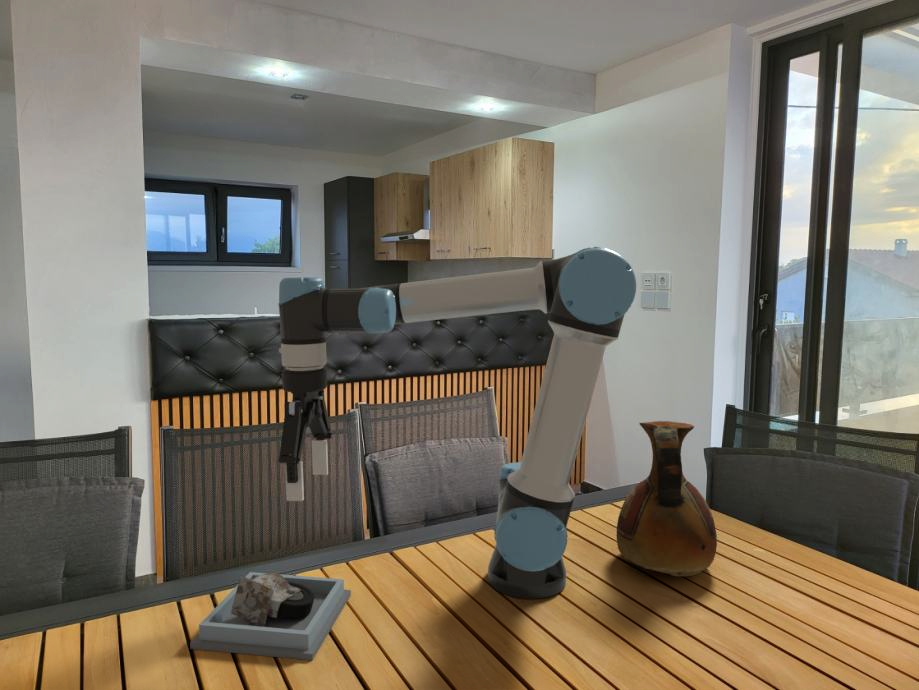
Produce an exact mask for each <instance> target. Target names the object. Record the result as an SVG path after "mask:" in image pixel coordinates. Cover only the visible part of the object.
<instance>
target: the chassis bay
mask: <svg viewBox="0 0 919 690" xmlns="http://www.w3.org/2000/svg"><path fill="white" fill-rule="evenodd" d="M263 574H267V573H266V572H254V571H250V572H248V574H246V575H245V577H246V578H248V579H250V580H252V579H254V578H256V577H258V576H260V575H263ZM278 574H279V575H281V576H283V577H284V578H285V579H286V580H287V582H293V583H297V584H300V585H303V586H305V587H307V588H308V589H310V590H311V591H312V592H313V594H314V602H313V606H312V609H311V612H310V614H308V615H307V616H306V617H303V618H299V619H286V618H281V617H278V618H274V617H270V616H268V615H267V618H266V622H265V626H264V627H259V626H257V625H255V624H252V623H250V622H248V621H246V620H244V619H242V618H240V617H238V616H236V615H234V614H232V613H231V610H232V606H233V602H234V598H235V595H236V591H237V587H238V584H237V585H236V586H235V587H234V588H233V589H232V590H231V591H230V592H229V593H228V594H227V595H226V596H225V597H224V598H223V599H222V600H221V601H220V603H218V605H217V606H216V607H215V608H214V609H213V610H212V611H211V612H209V614H208V615H207V616H206V617H205V618H204V619H203V620H202V621H201V622H200V623H199V624H198V634H197V635H196V636H195V637H194V638H193V639H192V640H191V641H190V643H189V647H190V650H199V651H210V652H211V651H212V652H222V653H231V654H241V655H242V654H243V655H253V656H263V657H275V658H285V659H286V658H287V659H295V660H306V661H314V659H315V657H316V655H317V653H318V652H319V650H320V649H321V647H322V645H323V644H324V642H325V640H326V639H327V637H328V635H329V633H330V632H331V630H332V629H333V626H334V625H335V623H336V621H337V619H338V618H339V616H340V615H341V613H342V611H343V609H344V608H345V606H346V604H347V602H348V600H350V597H352V590H351V589H345V579H343V578H332V577H319V576H306V575H293V574H292V575H291V574H280V573H278Z"/></svg>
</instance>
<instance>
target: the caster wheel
mask: <svg viewBox="0 0 919 690" xmlns="http://www.w3.org/2000/svg"><path fill="white" fill-rule="evenodd" d="M279 574H280V573H276V572H275V573H274V572H268V573H267V574H263V575H260V576H258V577H256V578H254V579H252V580H250V579H248V578H246V576H243V575H240V576H239V580H238V582H237V583H238V584H237V585H238V587H237V591H236V595H235V598H234V602H233V606H232V610H231V613H232V614H234V615H236V616H238V617H240V618H242V619H244V620H246V621H248V622H250V623H252V624H255V625H257V626H259V627H264V626H265V622H266V618H267V615H268V616H270V617H274V618H278V617H281V618H286V619H299V618H303V617H306V616H307V615H308V614H310V612H311V609H312V606H313V602H314V594H313V592H312V591H311V590H310V589H308V588H307V587H305V586H303V585H300V584H297V583H293V582H287V580H286V579H285V578H284V577H283V576H281V575H282V574H281V575H279Z"/></svg>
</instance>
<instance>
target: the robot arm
mask: <svg viewBox="0 0 919 690" xmlns="http://www.w3.org/2000/svg"><path fill="white" fill-rule="evenodd" d="M636 279H637V278H636V276H635V272H634V270H633V268H632V266H631V265H630V263H629V262H628V260H627V259H625V257H624V256H623V255H621V254H620V253H618V252H616V251H614V250H611V249H609V248H607V247H598V246H591V247H586V248H583V249H580V250H578V251H576V252H574V253H572V254H569V255H567V256H563V257H559V258H554V259H549V260H540V261H539V262H538V263H537V264H536V266H534V267H528V268H521V269H512V270H505V271H503V270H502V271H495V272H487V273H479V274H470V275H461V276H453V277H445V278H444V277H443V278H435V279H428V280H420V281H411V282H410V281H409V282H404V283H403V282H402V283H393V284H386V285H384V284H383V285H382V284H381V285H373V286H370V287H369V286H368V287H360V288H359V287H358V288H329V287H328V288H327V287H326V286H325V281H324V279H323V278H322V277H319V276H317V277H316V276H315V277H309V276H302V277H301V276H299V277H294V276H293V277H283V279H281V281H280V282H279V285H278V286H279V287H278V288H279V290H278V304H277V305H278V306H277V307H278V313H279V326H280V328H279V329H280V330H279V331H280V347H279V349H278V353H279V354H281V366H282V367H284V368H283V369H282V371H281V382H282V384H281V385H282V386H281V387H282V390H283V391H285V392H287V393H290V394H292V397H291V398H292V399H291V401H285V402H284V418H283V426H282V432H281V433H282V434H281V442H280V448H279V457H278V463H279V464H284V468H285V469H284V471H285V494H286V502H303V501H304V500H305V496H304V495H305V493H304V491H305V488H304V468H303V467H304V464H303V460H301V458H302V453H303V448H304V444H305V438H306V433H307V429H308V427H309V430H310V432H311V435H312V437H313V439H312V440H311V459H312V460H311V461H312V463H311V464H312V475H314V476H315V475H316V476H317V475H318V476H328V474H329V460H328V459H329V457H328V440H329V439H331V440H332V437H333V435H332V434H333V433H332V432H331V431H332V429H331V424H330V418H329V414H328V409H327V404H326V400H325V389H327V387H328V376H327V375H328V374H327V373H328V371H327V370H328V369H327V368H326V367H325V366H326V364H327V363H328V361H327V342H326V339H327V338H326V333H328V334H334V333H341V334H342V333H350V334H352V333H353V334H356V333H357V334H358V333H359V334H370V335H374V334H380V333H382V334H383V333H389V332H391V331H392V330H393V329H394V327H395V325H400V324H401V325H402V324H408V323H409V324H410V323H418V322H426V321H427V322H428V321H429V322H430V321H436V320H447V319H455V318H465V317H473V316H483V315H485V316H486V315H493V314H503V313H511V312H520V311H531V310H539V311H542V312H543V313H544V314H549V315H548V320H547V323H548V325H549V326H550V328H551V330H552V331H553V338H552V341H551V345H550V350H549V354H548V355H547V356H548V357H547V360H546V365H545V368H544V372H543V377H542V381H541V383H540V388H539V392H538V396H537V399H536V403H535V407H534V411H533V415H532V417H531V423H530V426H529V431H528V433H527V438H526V441H525V446H524V449H523V453H522V455H521V456H522V457H521V461H518V462H509V463H506V464H503V465H502V466H501V467H500V468H499V476H498V478H497V480H498V500H497V501H498V502H497V511H496V512H497V513H496V522H495V527H494V531H493V532H494V533H493V535H494V540H495V544H496V545H495V547H494V550H493V552H492V554H491V558H490V560H489V563H488V567H487V580H488V582H489V585H491V587H492V588H494V589H495V590H497V591H498V592H500V593H501V594H505V595H507V596H510V597H513V598H519V599H527V600H529V599H530V600H533V599H534V600H537V599H544V598H549V597H553V596H555V595H557V594H559V593H560V592H562V591H563V590H564V589H565V587H566V583H567V570H566V569H567V568H566V566H565V563H564V559H563V556H564V555H565V551H566V548H567V545H568V536H569V535H568V532H567V531H568V530H567V526H568V522H569V519H570V515H571V511H572V507H573V503H574V500H575V497H576V494H575V491H574V490H573V488H572V486H571V485H570V480H571V476H572V472H573V469H574V465H575V462H576V458H577V454H578V449H579V447H580V443H581V439H582V434H583V432H584V428H585V424H586V421H587V418H588V414H589V409H590V406H591V403H592V398H593V395H594V392H595V389H596V388H595V387H596V383H597V380H598V377H599V372H600V370H601V365H602V363H603V359H604V354H605V351H606V348H607V347H608V345H610V344H612V343H614V342H615V341H617V340H618V339H619V336H620V332H621V328H622V325H623V321H624V317H625V316H626V313H627V312H628V310H629V309H631V307H632V304H633V302H634V300H635V298H636V297H635V296H636V294H637V280H636Z"/></svg>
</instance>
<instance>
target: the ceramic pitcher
mask: <svg viewBox="0 0 919 690" xmlns="http://www.w3.org/2000/svg"><path fill="white" fill-rule="evenodd" d="M638 423H639V426H640V427H641V428H642V430H644V432H645V434H647V436H648V438H649V441H650V444H651V451H652V463H651V469H650V471H649V475H648V476H647V477H646V478H645V479H643V480H641V481H640V482H639V483H638V484H636V485H635V486H634V488H633V489H632V490H630V491H629V493H628V495H627V496H626V497H625V499H624V502H623V504H622V506H621V509H620V511H619V513H618V517H617V518H618V519H617V524H616V543H617V549H618V551H619V553H620V555H621V556H622V557H624V558H625V559H626V560H629V561H630V562H631V563H633V564H635V565H637V566H640V567H643V569H647V570H651V571H656V572H659V573H665V574H668V575H670V576H674V577H689V576H694V575H697V574H699V573H701V572H703V571H705V570H706V569H708V568H710V566H711V565H712V563H713V562H714V560H715V558H716V557H715V556H716V552H717V547H718V541H717V540H718V538H717V537H718V536H717V530H716V524H715V520H714V517H713V513H712V511H711V509H710V507H709V505H708V502H707V500H706V499H705V498H704V496H703V495H702V493H701V492H700V491H699V490H698V489H697V487H695V486H694V485H693V484H692V483H691V482H690V481H688V480H687V478H686V477H685V476H684V475H685V474H684V473H683V465H682V455H681V454H682V445H683V442H684V440H685V437H687V436H688V434H689V433H690V432H691V431H692V430H693V429H695V425H693V424H692V423H686V422H677V421H668V420H663V421H662V420H655V421H647V422H638Z"/></svg>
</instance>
